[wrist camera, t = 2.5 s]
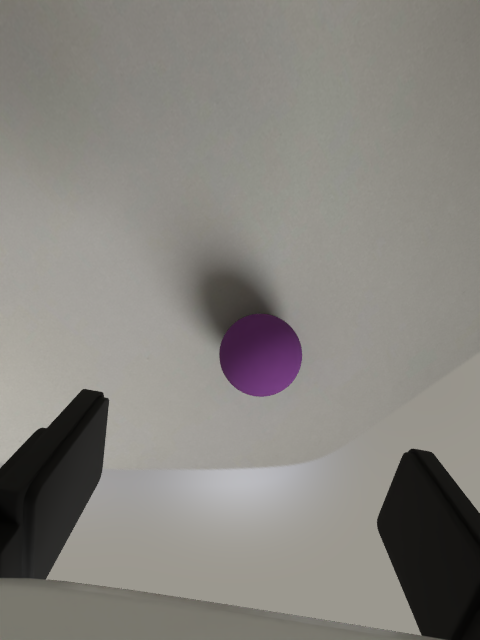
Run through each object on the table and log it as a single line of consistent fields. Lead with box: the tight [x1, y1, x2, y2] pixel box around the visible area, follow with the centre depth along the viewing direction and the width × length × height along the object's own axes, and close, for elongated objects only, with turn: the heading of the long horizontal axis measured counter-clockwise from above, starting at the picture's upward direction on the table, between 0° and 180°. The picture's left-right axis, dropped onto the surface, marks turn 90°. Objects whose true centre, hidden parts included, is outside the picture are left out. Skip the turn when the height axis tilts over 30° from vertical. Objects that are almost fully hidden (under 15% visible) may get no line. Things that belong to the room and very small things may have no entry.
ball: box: [219, 314, 302, 397], centre depth 19 cm, size 4×4×4 cm
